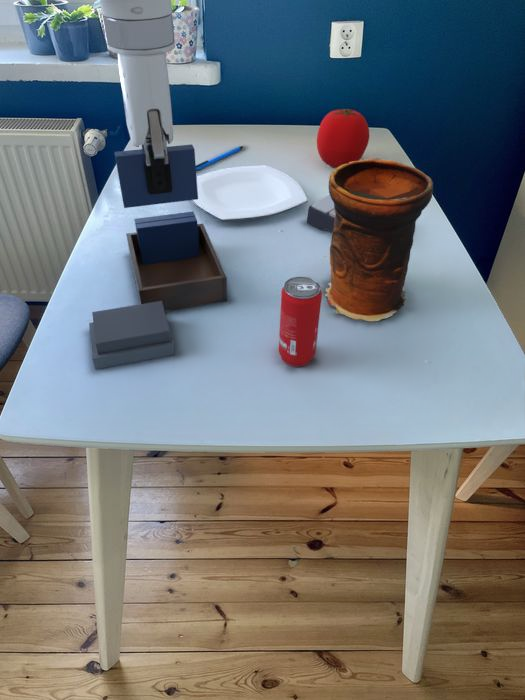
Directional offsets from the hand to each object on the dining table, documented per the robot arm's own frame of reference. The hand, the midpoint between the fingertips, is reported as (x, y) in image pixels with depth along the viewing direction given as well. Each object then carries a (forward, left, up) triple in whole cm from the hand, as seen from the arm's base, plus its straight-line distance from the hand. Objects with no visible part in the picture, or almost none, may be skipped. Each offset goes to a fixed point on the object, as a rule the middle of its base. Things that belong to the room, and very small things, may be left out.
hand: (159, 187), depth 72 cm
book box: (+2, +7, -19) cm, 21 cm away
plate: (+21, +32, -20) cm, 43 cm away
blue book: (0, 0, -2) cm, 2 cm away
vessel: (+30, -6, -20) cm, 36 cm away
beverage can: (+15, -17, -20) cm, 30 cm away
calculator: (+38, +15, -20) cm, 45 cm away
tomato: (+47, +43, -20) cm, 67 cm away
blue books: (+2, +13, -19) cm, 23 cm away
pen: (+20, +53, -20) cm, 60 cm away
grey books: (-7, -8, -19) cm, 22 cm away
